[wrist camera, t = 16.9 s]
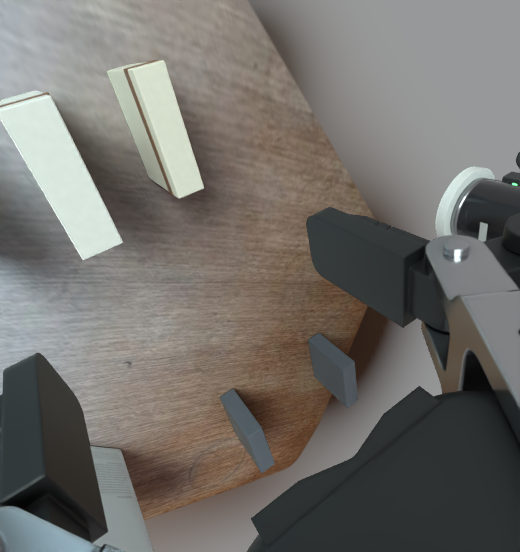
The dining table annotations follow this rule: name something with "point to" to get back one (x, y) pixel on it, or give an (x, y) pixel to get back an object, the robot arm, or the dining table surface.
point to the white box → (59, 171)
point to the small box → (119, 503)
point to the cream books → (157, 125)
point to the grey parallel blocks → (327, 369)
